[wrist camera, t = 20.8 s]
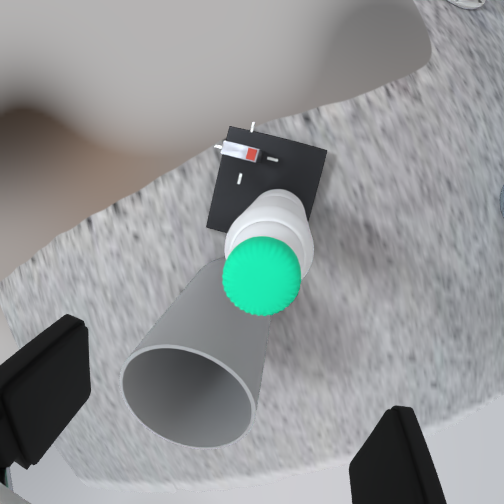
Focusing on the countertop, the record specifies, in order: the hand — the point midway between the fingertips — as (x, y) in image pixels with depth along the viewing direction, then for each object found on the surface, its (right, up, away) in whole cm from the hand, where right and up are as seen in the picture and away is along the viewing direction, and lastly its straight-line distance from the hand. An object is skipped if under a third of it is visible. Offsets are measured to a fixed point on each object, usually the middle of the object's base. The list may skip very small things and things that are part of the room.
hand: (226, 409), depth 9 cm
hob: (+3, +13, +36) cm, 38 cm away
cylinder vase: (-2, -2, +41) cm, 41 cm away
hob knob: (0, +17, +32) cm, 36 cm away
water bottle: (+4, +9, +34) cm, 36 cm away
